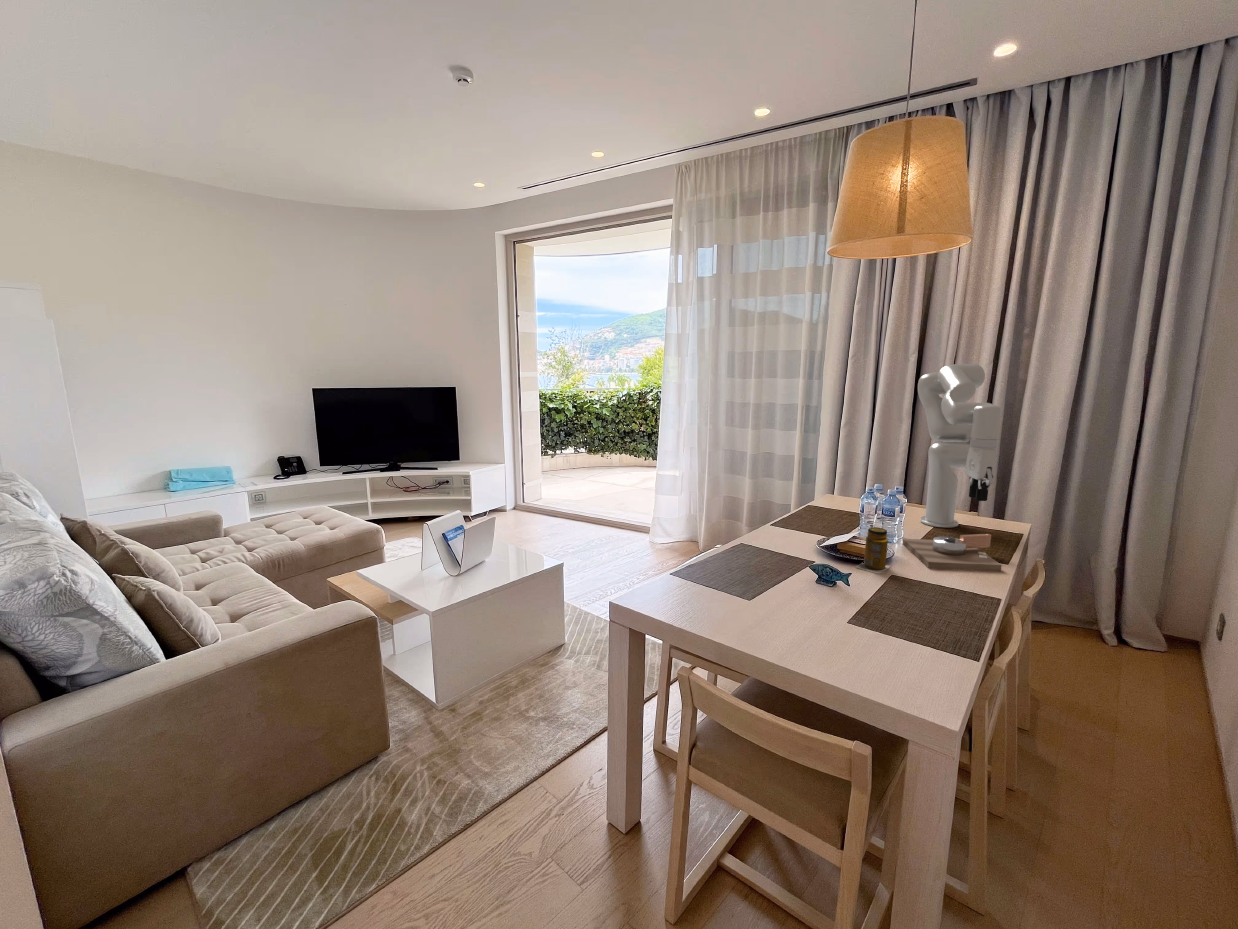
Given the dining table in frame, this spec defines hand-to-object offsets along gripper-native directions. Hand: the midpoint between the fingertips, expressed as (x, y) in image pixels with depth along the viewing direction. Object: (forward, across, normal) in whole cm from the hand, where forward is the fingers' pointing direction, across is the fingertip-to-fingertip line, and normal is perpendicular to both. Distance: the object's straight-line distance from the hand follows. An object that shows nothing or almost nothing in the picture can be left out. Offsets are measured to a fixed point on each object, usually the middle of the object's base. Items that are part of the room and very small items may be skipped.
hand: (977, 498), depth 174 cm
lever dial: (+15, +8, -7) cm, 18 cm away
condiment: (+18, +21, -37) cm, 46 cm away
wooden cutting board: (+17, +9, -11) cm, 22 cm away
